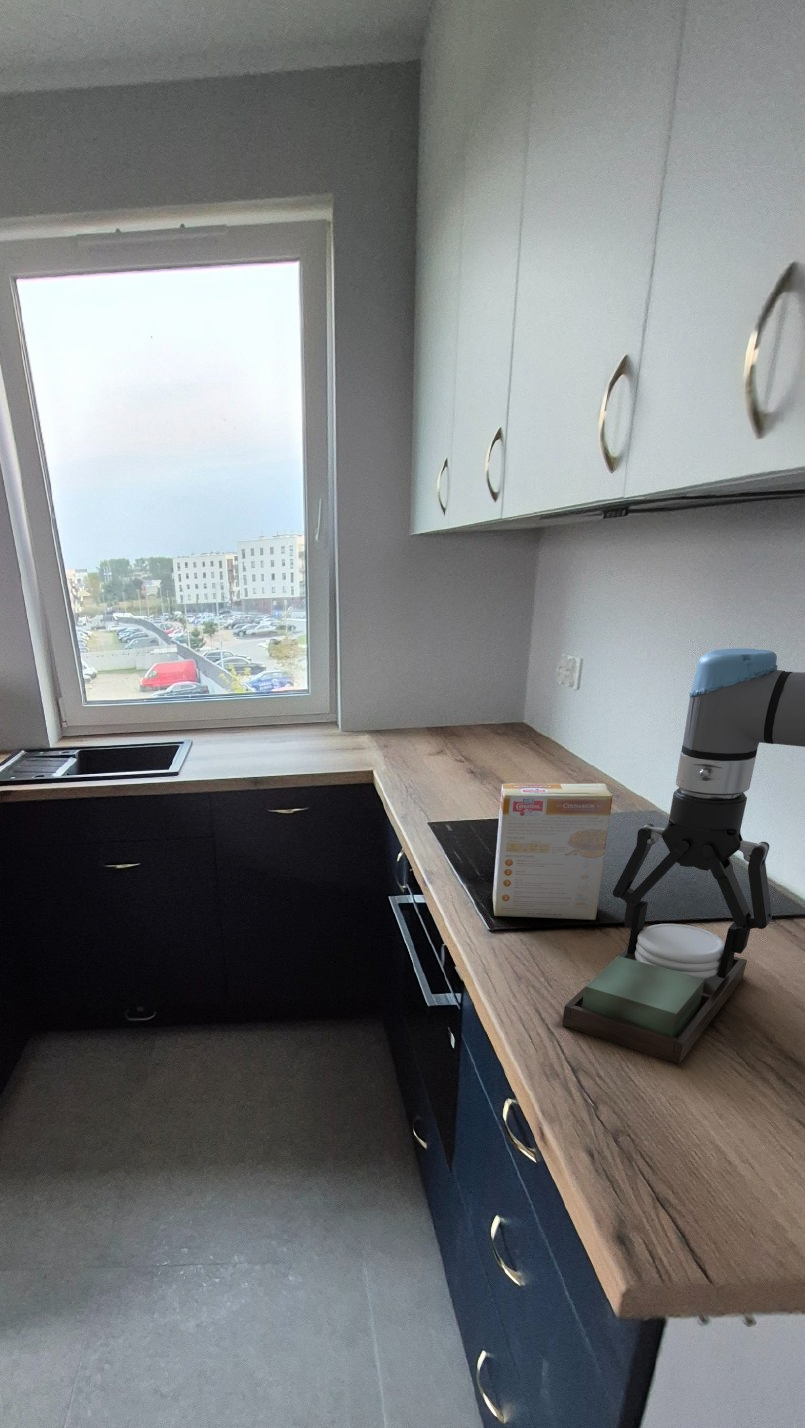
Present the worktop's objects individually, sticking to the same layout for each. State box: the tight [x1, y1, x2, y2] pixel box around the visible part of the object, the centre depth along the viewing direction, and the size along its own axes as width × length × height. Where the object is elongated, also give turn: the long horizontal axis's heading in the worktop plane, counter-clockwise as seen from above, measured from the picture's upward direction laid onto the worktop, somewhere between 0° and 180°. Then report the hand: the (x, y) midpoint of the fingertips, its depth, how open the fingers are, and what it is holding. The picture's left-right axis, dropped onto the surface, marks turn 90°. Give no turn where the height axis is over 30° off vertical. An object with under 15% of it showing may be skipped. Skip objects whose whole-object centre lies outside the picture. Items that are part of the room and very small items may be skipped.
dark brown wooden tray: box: [561, 946, 748, 1065], centre depth 98 cm, size 13×25×5 cm, turn 137°
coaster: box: [635, 923, 725, 979], centre depth 101 cm, size 10×10×4 cm
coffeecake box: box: [492, 783, 614, 921], centre depth 121 cm, size 15×7×20 cm, turn 77°
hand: (677, 961), depth 102 cm, fingers open, 10 cm apart
